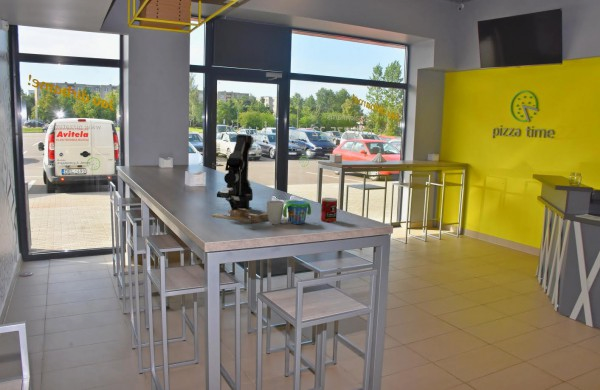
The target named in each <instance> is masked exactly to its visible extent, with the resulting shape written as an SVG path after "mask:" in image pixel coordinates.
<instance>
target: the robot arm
mask: <svg viewBox="0 0 600 390" xmlns="http://www.w3.org/2000/svg"><path fill="white" fill-rule="evenodd" d="M253 144H254V137H253V136H252V135H251V134H237V135H236V136H235V145H234V148H233V152H231V153H230V154H229V155H228V158H226V163H225V168H224V170H225V171H226V172H227V171H228V172H227V173H226V174H225V175H224V177H223V179H224V182H225V184H226V187H225V188H223V189H222V190H219V191H218V192H217V193H216V198H221V199H225V201H227V202H228V203H229V206H230V208H231V210H234V209H239V208H240V209H246V210H250V209H252V208H253V207H251V206H250V201H253V198H254V197H253V195H254V194H253V193H254V192H253V189H252V187H251V182H250V180H249V161H250V160H249V159H250V157H249V156H250V155H249V154H250V151H251V150H252V148H253Z"/></svg>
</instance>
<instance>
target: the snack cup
mask: <svg viewBox="0 0 600 390" xmlns="http://www.w3.org/2000/svg"><path fill="white" fill-rule="evenodd" d="M311 214H312V209H311V205H310V203H309V202H308V201H306V200H297V199H296V200H295V199H293V200H288V201H286V203H285V204H284V207H283V214H282V217H284V218H288V222H289V223H290V224H294V225H302V224H305V222H306V216H307V215H308V216H310V215H311ZM287 216H288V217H287Z"/></svg>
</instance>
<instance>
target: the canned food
mask: <svg viewBox="0 0 600 390" xmlns="http://www.w3.org/2000/svg"><path fill="white" fill-rule="evenodd" d="M320 205H321V209H320V221H321V222H324V223H336V222H337V214H338V213H337V212H338V211H337V210H338V198H336V197H321V203H320Z"/></svg>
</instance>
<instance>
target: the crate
mask: <svg viewBox="0 0 600 390" xmlns="http://www.w3.org/2000/svg"><path fill="white" fill-rule="evenodd" d="M229 211H230V213H229V216H232V217H238V218H243V219H249V218H250V216H249V213H250V209H240V208H239V209H234V210H232V209H231V210H229Z"/></svg>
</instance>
